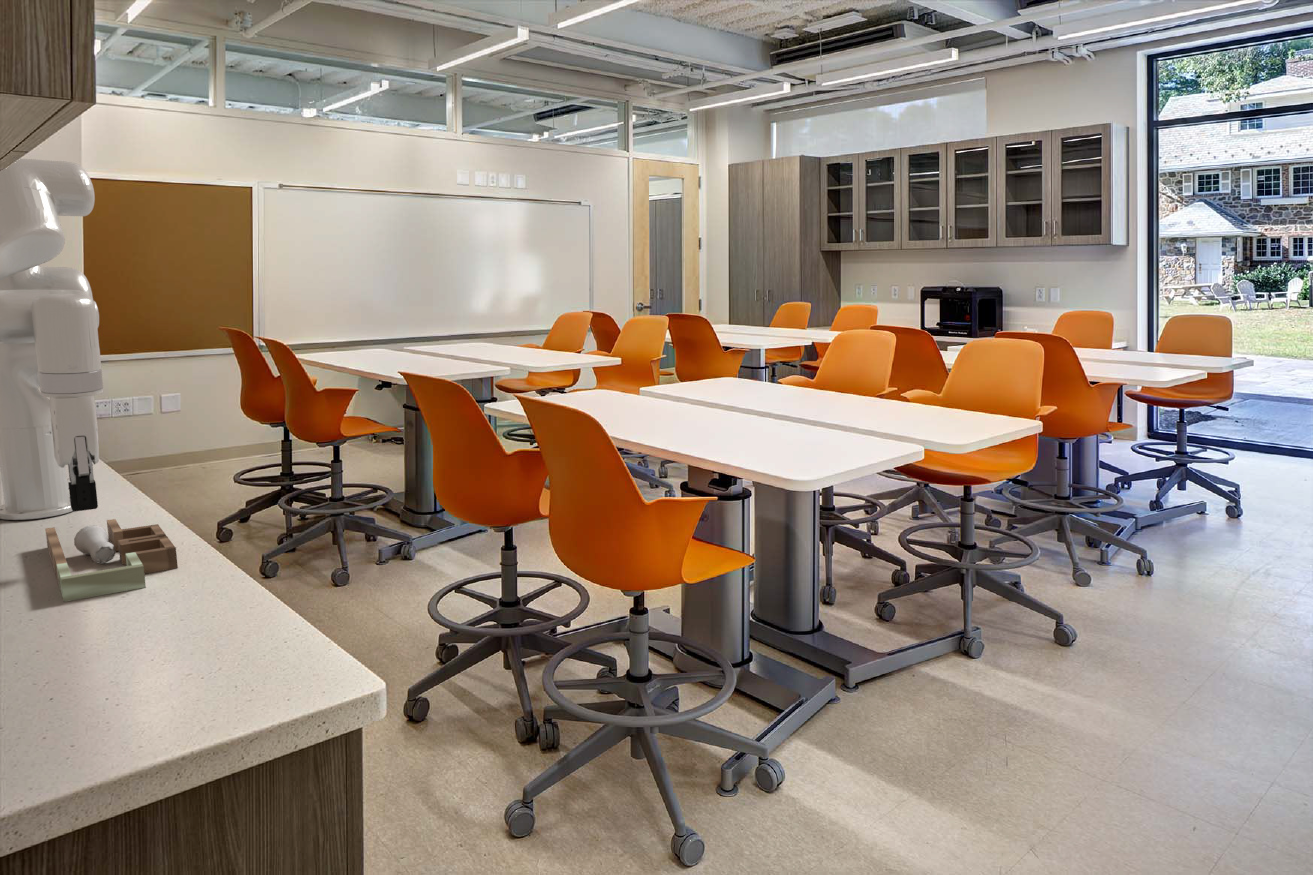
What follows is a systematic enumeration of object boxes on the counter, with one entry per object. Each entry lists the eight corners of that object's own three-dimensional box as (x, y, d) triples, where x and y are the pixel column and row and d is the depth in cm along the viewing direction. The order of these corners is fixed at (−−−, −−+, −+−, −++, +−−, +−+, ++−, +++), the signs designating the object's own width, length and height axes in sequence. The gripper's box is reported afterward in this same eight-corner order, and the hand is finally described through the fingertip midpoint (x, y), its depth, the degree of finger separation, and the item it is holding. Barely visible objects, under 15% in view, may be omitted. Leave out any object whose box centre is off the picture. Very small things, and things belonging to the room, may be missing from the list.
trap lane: (47, 547, 143) (45, 528, 142) (152, 531, 151) (150, 514, 151) (63, 601, 120) (61, 579, 119) (186, 580, 128) (184, 559, 128)
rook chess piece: (86, 558, 140) (100, 575, 135) (66, 537, 138) (80, 553, 132) (113, 539, 142) (128, 555, 137) (94, 518, 140) (109, 533, 134)
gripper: (36, 377, 134) (49, 500, 138) (43, 393, 122) (58, 526, 126) (96, 374, 138) (107, 493, 142) (109, 389, 126) (121, 518, 130)
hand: (84, 508), depth 134 cm, fingers closed
